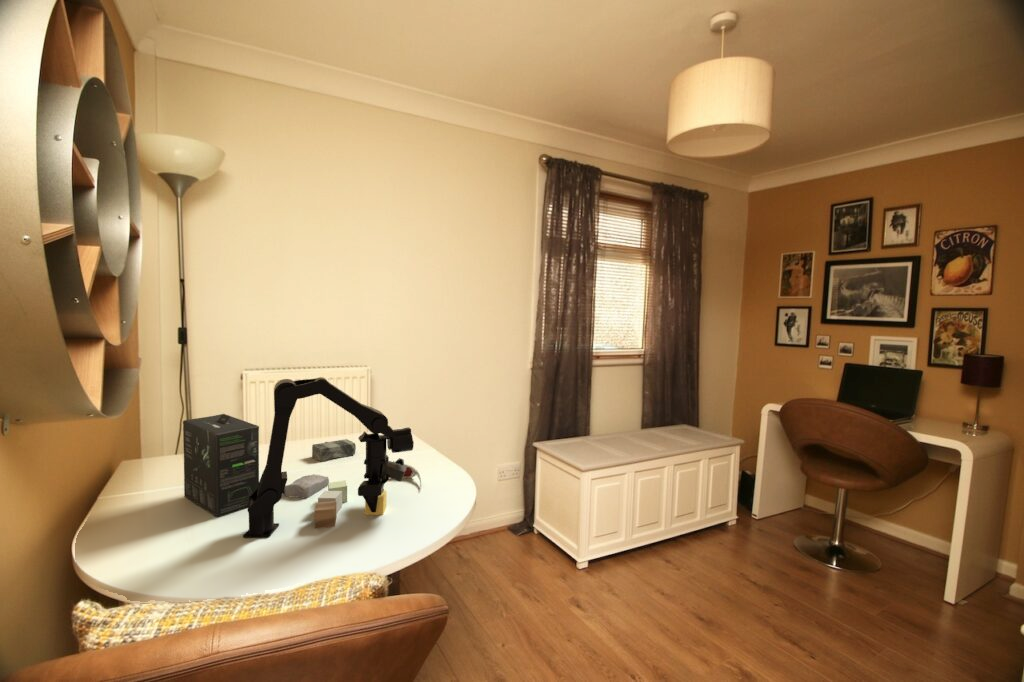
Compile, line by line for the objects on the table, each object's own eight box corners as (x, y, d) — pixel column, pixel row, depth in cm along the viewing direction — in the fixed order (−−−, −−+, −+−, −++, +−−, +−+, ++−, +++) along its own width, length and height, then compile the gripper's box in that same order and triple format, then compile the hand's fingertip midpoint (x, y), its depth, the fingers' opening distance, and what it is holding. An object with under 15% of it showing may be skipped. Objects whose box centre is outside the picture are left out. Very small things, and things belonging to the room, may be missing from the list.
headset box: (261, 503, 134) (259, 418, 132) (216, 518, 124) (214, 426, 122) (225, 485, 147) (224, 407, 145) (182, 498, 137) (180, 414, 135)
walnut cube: (334, 526, 122) (334, 508, 121) (314, 528, 120) (314, 510, 120) (336, 518, 126) (336, 500, 126) (317, 520, 125) (317, 502, 125)
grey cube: (335, 515, 128) (335, 498, 128) (318, 515, 128) (317, 497, 128) (342, 507, 133) (342, 491, 133) (325, 507, 133) (324, 490, 133)
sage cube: (347, 502, 137) (347, 486, 136) (329, 504, 135) (329, 488, 134) (345, 495, 141) (345, 480, 141) (328, 498, 139) (328, 482, 139)
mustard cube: (383, 514, 129) (383, 497, 129) (365, 515, 129) (365, 498, 128) (386, 507, 134) (386, 490, 134) (369, 507, 134) (369, 490, 133)
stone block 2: (357, 455, 181) (357, 442, 180) (321, 463, 170) (321, 450, 170) (347, 450, 187) (347, 437, 186) (311, 457, 176) (311, 444, 176)
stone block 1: (281, 502, 140) (309, 499, 138) (278, 486, 140) (306, 483, 138) (305, 488, 152) (332, 485, 150) (303, 474, 152) (329, 471, 150)
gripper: (399, 465, 122) (399, 521, 123) (408, 444, 140) (408, 493, 141) (357, 466, 121) (357, 522, 122) (371, 445, 139) (371, 494, 140)
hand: (376, 507), depth 131 cm, fingers open, 6 cm apart
